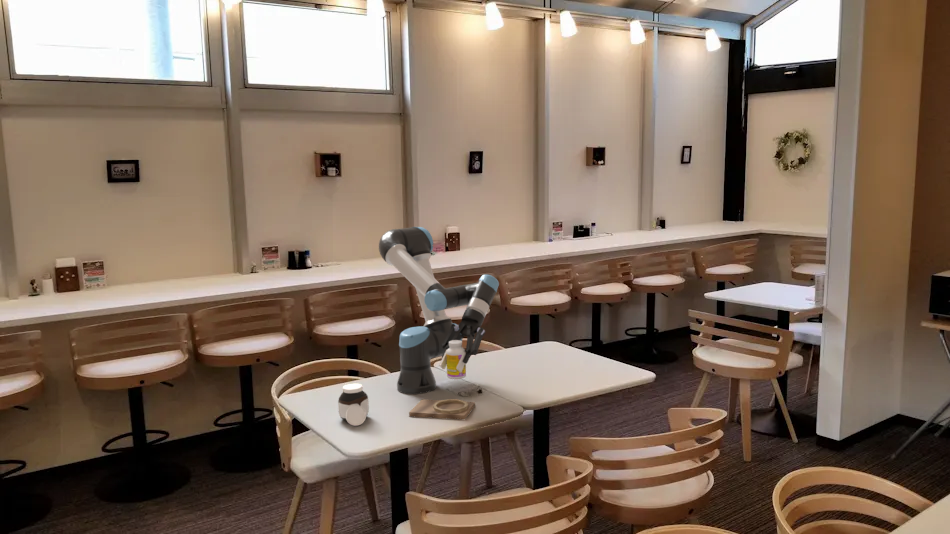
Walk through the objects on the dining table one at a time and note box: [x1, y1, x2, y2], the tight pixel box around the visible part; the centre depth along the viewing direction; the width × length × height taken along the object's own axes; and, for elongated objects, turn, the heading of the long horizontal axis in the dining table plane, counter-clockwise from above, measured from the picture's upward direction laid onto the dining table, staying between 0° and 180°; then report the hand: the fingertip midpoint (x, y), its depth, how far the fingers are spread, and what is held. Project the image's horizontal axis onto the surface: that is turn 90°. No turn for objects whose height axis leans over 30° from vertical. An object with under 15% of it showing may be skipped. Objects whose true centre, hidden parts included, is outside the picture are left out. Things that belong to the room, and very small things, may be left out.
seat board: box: [408, 398, 476, 420], centre depth 257 cm, size 20×14×2 cm
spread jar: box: [337, 383, 370, 427], centre depth 250 cm, size 12×11×12 cm
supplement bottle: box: [446, 340, 467, 380], centre depth 255 cm, size 7×7×13 cm
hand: (450, 368), depth 253 cm, fingers closed on supplement bottle, 7 cm apart
